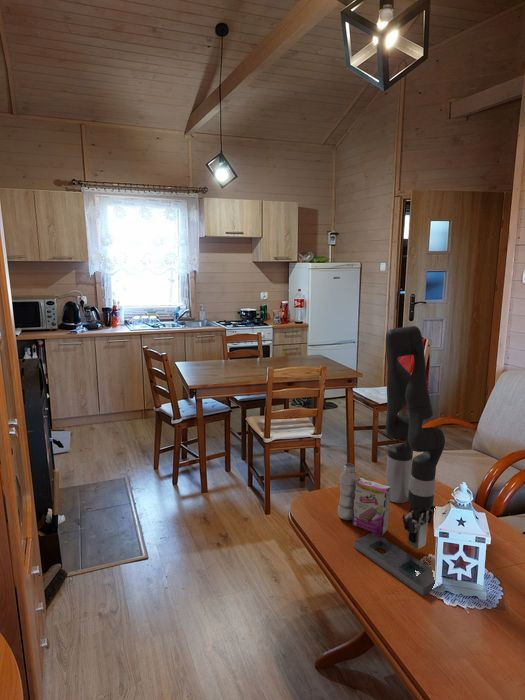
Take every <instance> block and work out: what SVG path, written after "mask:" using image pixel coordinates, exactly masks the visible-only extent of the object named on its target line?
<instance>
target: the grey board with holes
mask: <svg viewBox="0 0 525 700" xmlns="http://www.w3.org/2000/svg"><path fill="white" fill-rule="evenodd" d="M353 543H354V544H353V547H354V549H355V550H357V551H358V552H359V553H361V554H362V555H364V556H365V557H367V558H368V559H369V560H370V561H373V563H375V564H376V565H378V566H380V567H381V568H382V569H383V570H385V571H386V572H387V573H389V574H390V575H392V576H393V577H395V578H396V579H398V580H399V581H400V582H402V583H403V584H404V585H406V586H407V587H409V588H410V589H412V591H414V592H416V593H417V594H419V596H421V597H424V596H426V595H427V594H429V593H431V592H432V591H433V590H432V588H433V586H434V584H435V580H434V577H433V572H432V568H431V567H429V566H427V564H425V563H423V562H421V560H419V559H417V558H416V557H414V556H412V555H410V554H409V553H407V552H406V551H404V550H403V549H401V548H400V547H398V546H397V545H395V544H393V543H392V542H390V541H389V540H388V539H386V538H384V537H383V536H381V535H378V534H377V533H375V532H370V533H368V534H366V535H362V536H361V537H359V538H357V539H355V540H354V542H353ZM379 548H380V549H382V550H384V551H385V553H383V554H382V553H380V552H378V551H377V550H376V549H379ZM415 570H416V571H419V572H420V573H421V574H419V575H418V576H416V574H415V573H416V572H415ZM431 590H432V591H431Z"/></svg>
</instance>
